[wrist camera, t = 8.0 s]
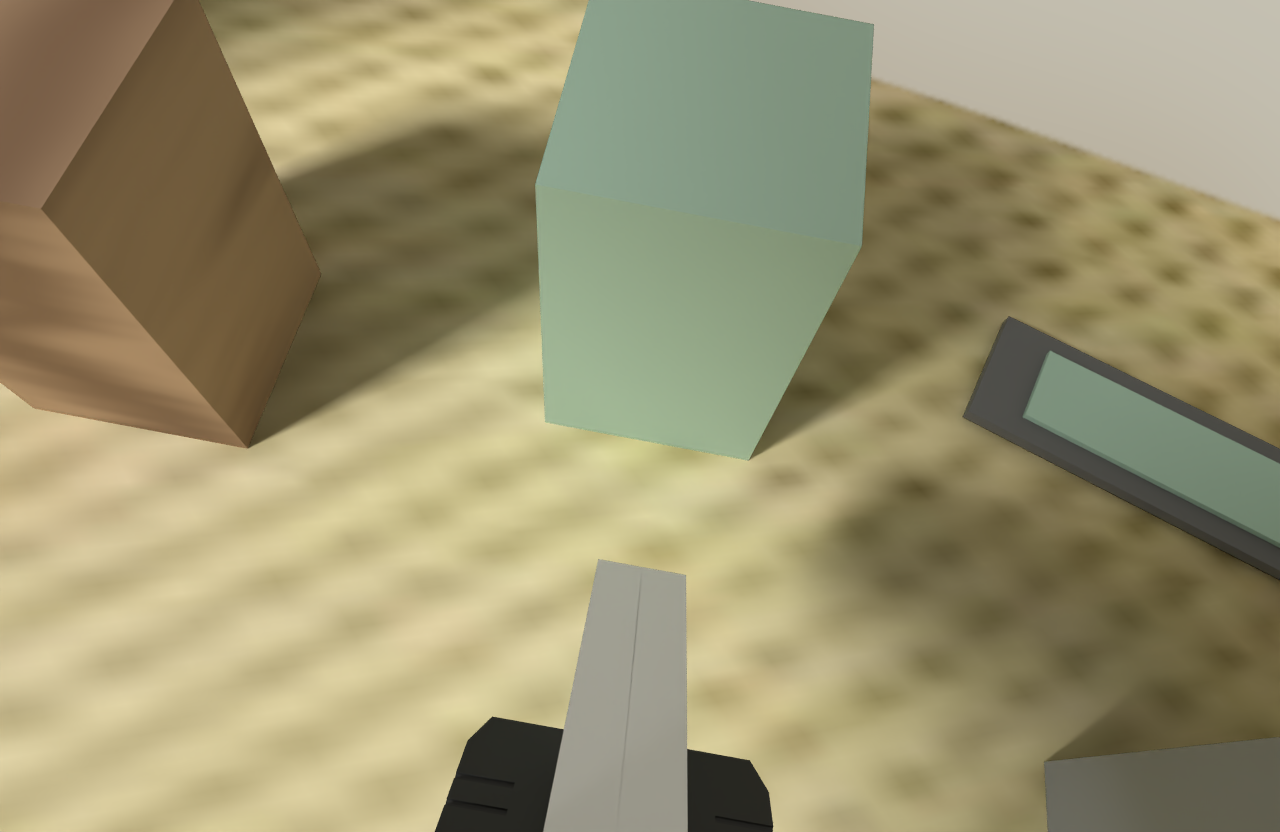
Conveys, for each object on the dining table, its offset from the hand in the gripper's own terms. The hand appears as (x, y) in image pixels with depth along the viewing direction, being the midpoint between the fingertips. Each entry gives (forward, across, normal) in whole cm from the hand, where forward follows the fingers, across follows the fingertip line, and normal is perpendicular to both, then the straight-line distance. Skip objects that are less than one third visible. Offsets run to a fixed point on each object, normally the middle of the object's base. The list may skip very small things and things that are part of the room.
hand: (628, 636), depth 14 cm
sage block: (+12, 0, +2) cm, 12 cm away
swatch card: (+12, +16, +2) cm, 20 cm away
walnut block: (+11, -14, 0) cm, 17 cm away
